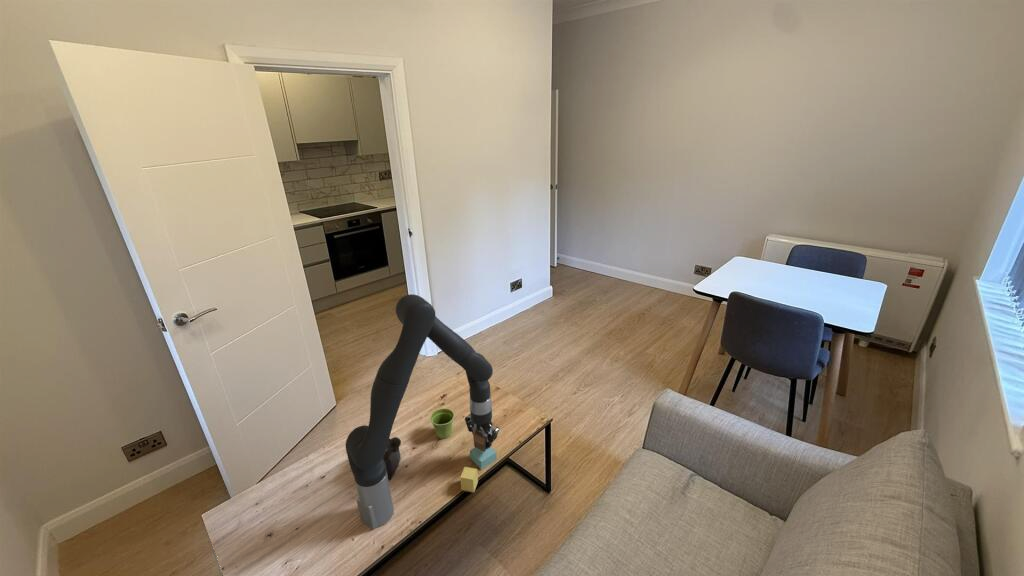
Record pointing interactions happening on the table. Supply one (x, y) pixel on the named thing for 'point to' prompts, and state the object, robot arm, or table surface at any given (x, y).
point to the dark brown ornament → (392, 456)
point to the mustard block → (469, 479)
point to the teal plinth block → (483, 457)
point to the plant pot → (442, 422)
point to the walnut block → (479, 441)
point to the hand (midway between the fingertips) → (482, 444)
